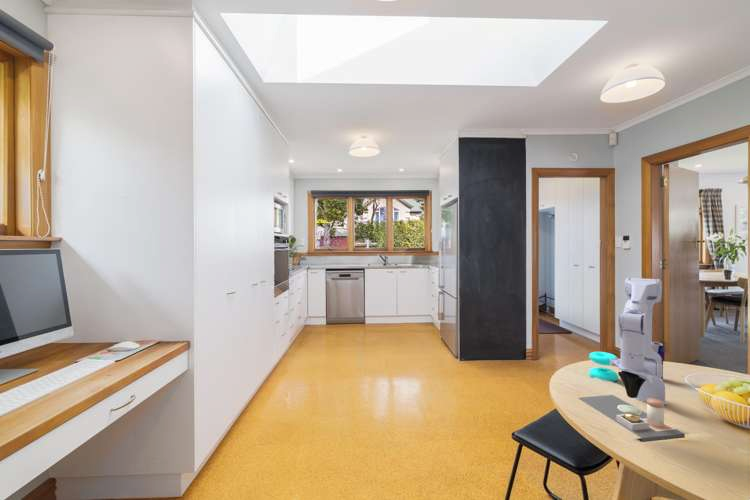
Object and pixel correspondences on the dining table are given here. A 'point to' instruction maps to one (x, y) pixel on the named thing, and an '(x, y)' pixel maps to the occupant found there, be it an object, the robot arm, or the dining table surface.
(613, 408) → the board
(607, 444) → the dining table surface
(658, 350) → the beverage can
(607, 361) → the donuts
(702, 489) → the dining table surface
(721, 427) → the dining table surface
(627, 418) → the button
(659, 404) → the white cylinder
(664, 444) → the dining table surface
